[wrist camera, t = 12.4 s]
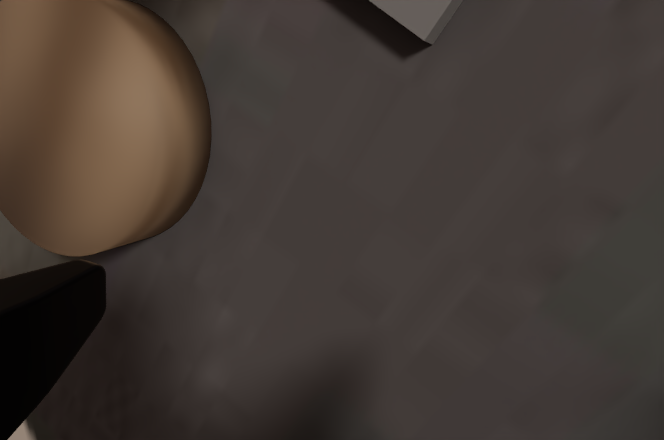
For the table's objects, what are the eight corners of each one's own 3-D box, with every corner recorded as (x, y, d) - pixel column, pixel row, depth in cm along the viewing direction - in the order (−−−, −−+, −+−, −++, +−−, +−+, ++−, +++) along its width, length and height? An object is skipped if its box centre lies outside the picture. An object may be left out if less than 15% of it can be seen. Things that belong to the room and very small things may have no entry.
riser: (254, 94, 20) (201, 92, 17) (146, 285, 24) (91, 307, 21) (79, -51, 22) (9, -74, 19) (8, 147, 26) (-58, 151, 23)
